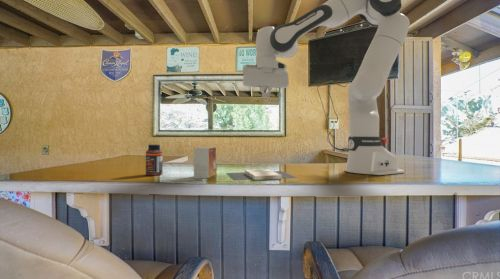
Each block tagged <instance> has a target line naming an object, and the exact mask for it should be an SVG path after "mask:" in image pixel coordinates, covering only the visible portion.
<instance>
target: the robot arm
mask: <svg viewBox="0 0 500 279" xmlns="http://www.w3.org/2000/svg"><path fill="white" fill-rule="evenodd" d="M401 9H402V0H327V1H325V2H324V3H322V4H321V5H319V6H317V7H316V8H313V9H312V10H309V11H308V12H307V13H305V14H303V15H301V16H300V17H298V18H297V19H295V20H293V21H291V22H288V23H284V24H279V25H277V26H276V27H275V26H271V25H267V26H263V27H261V28H259V30H258V31H257V33H256V39H255V40H256V41H255V50H256V57H255V64H248V63H247V64H246V65H243V67H242V74H243V76H242V85H243V86H244V87H247V88H248V87H251V88H252V87H253V88H259V92H260V93H261V98H270V94H271V93H272V91H273V89H274V88H277V89H287V87H288V86H290V83H289V82H290V81H289V73H288V71H287V68H288V66H287V63H285V62H284V63H283V62H281V61H280V60H279V61H278V60H277V58H282V59H283V58H284V59H289V58H292V57H294V56H295V55H296V53H297V52H298V50H299V43H298V39H300V38H301V37H302V36H304V35H305V34H307V33H309V32H310V31H313V30H314V29H316V28H317V27H326V28H328V29H334V28H337V27H340V26H342V25H343V24H345V23H346V22H348V21H349V20H351V19H352V18H354V17H356V16H358V15H359V17H360V19H362V20H364V22H366V24H367V25H369V26H371V27H372V28H373V27H374V28H377V29H376V32H375V34H374V35H373V38H372V40H371V42H370V44H369V46H368V49H367V51H366V53H365V54H364V57H363V60H362V61H361V64H360V66H359V68H358V71H357V73H356V74H355V77H354V79H353V80H352V82H350V84H349V86H348V91H347V92H348V93H347V95H348V97H347V98H348V112H349V113H348V114H349V136H348V139H347V148H348V155H347V161H346V165H345V168H344V171H345V172H348V173H354V174H363V175H374V176H382V175H394V174H395V175H396V174H405V170H404V169H401V168H399V166H398V165H399V163H398V159H397V156H395V154H393V153H392V152H391V151H389V150H388V149H387V148H385V146H384V144H388V142H389V139H388V138H387V137H382V138H381V137H380V115H379V110H378V109H379V108H378V102H377V99H378V97H379V96H380V95H381V94H382V93H383V91H384V88H385V86H386V83H387V81H388V78H389V77H390V73H391V70H392V68H393V65H394V64H395V61H396V60H397V57H398V55H399V53H400V51H401V50H402V47H403V44H404V43H405V41H406V38H407V35H408V32H409V29H410V25H411V24H410V23H411V22H410V19H409V17H408V16H406V15H405V14H403V13H401V12H400V10H401ZM265 88H267V92H265V90H264V89H265Z"/></svg>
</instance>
